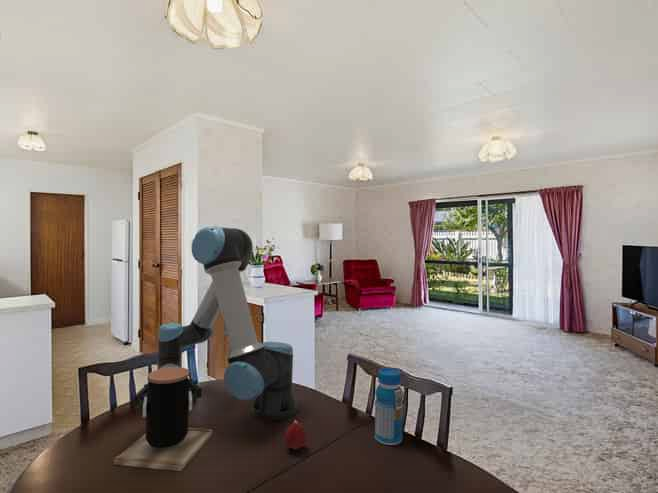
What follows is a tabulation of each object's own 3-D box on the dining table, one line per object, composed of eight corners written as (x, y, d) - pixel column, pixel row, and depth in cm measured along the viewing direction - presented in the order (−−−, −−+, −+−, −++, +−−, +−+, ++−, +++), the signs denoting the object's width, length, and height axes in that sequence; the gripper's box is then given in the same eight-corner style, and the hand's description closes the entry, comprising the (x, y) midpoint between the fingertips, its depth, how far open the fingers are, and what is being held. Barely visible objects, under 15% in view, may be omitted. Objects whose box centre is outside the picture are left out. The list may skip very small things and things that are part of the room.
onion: (309, 446, 102) (309, 417, 102) (300, 457, 97) (301, 427, 97) (290, 442, 104) (291, 414, 104) (281, 452, 98) (282, 423, 99)
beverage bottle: (376, 446, 103) (377, 376, 103) (372, 431, 111) (373, 366, 111) (405, 446, 103) (407, 376, 103) (399, 431, 111) (401, 366, 112)
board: (212, 434, 107) (212, 429, 107) (180, 471, 89) (181, 465, 89) (155, 429, 109) (156, 424, 109) (113, 464, 91) (114, 458, 91)
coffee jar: (194, 430, 104) (196, 368, 104) (175, 450, 94) (177, 381, 94) (159, 427, 105) (161, 365, 105) (136, 447, 95) (138, 379, 95)
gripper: (206, 386, 120) (213, 415, 100) (127, 396, 111) (117, 430, 91) (206, 364, 120) (213, 388, 100) (128, 371, 111) (118, 400, 91)
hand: (168, 408), depth 96 cm, fingers closed on coffee jar, 10 cm apart
